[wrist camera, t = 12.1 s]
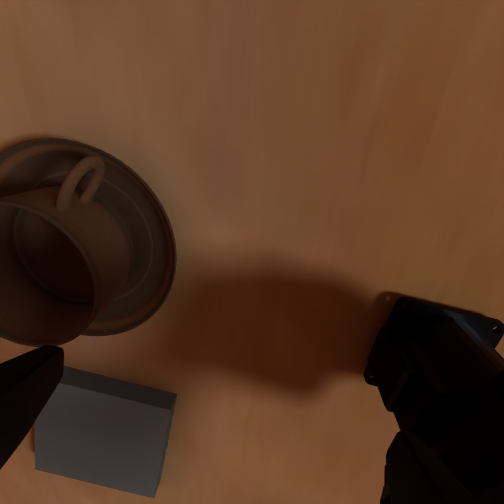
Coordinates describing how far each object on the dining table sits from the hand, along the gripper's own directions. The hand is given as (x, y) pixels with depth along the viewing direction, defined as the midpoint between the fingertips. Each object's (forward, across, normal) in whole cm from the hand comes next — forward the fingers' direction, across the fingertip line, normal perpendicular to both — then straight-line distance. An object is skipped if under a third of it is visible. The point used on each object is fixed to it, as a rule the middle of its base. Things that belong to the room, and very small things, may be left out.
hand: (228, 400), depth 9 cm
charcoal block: (+13, +8, +18) cm, 24 cm away
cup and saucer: (+12, +10, +2) cm, 16 cm away
